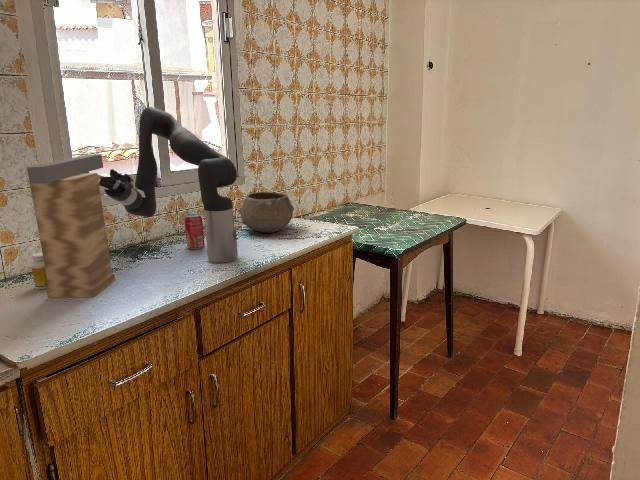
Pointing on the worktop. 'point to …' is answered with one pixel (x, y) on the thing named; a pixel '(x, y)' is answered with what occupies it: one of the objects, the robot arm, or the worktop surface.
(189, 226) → the soda can
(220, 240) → the robot arm
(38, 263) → the supplement bottle
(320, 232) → the worktop surface
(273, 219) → the clay pot
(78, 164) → the block
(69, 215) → the stand
